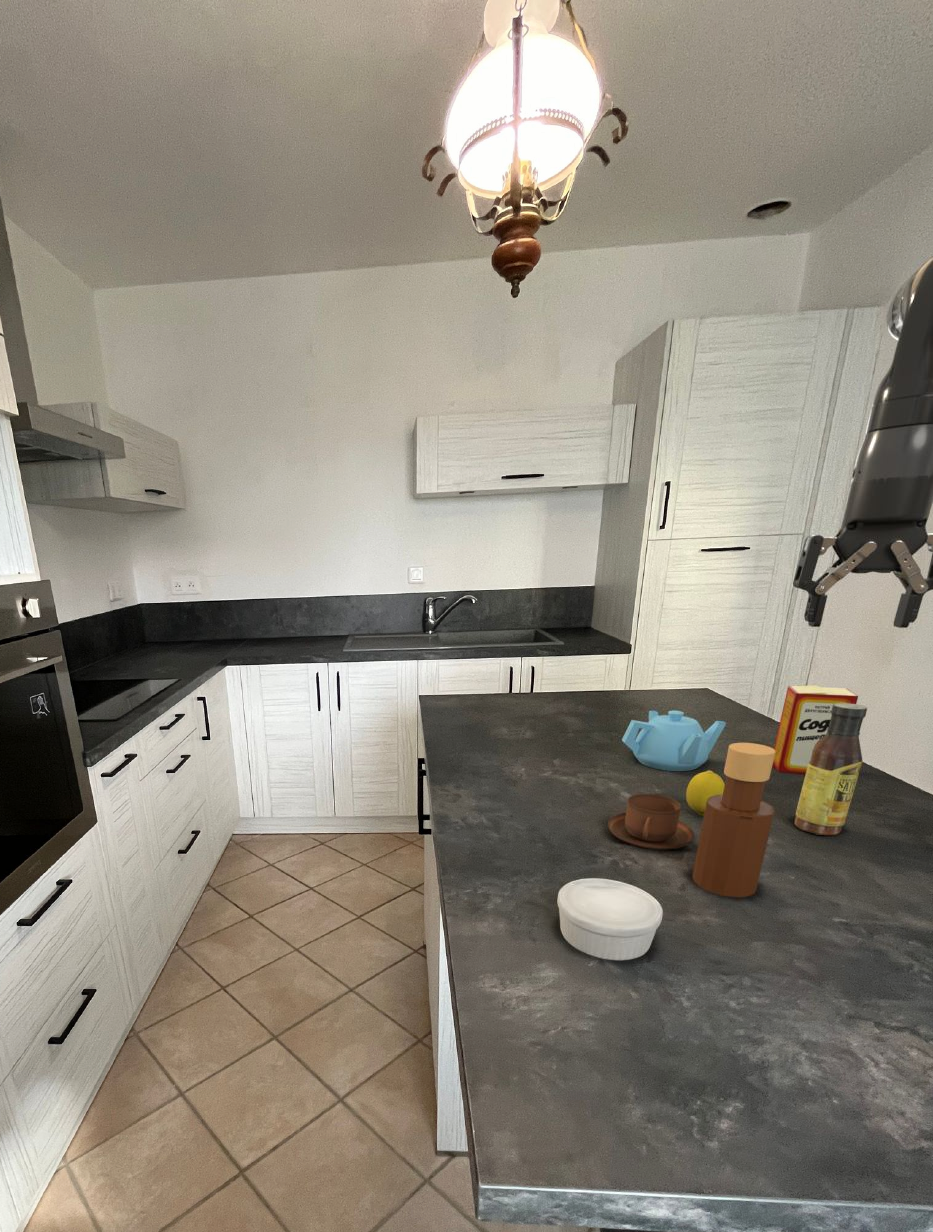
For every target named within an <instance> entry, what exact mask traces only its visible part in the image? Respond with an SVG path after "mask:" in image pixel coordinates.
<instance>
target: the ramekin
mask: <svg viewBox="0 0 933 1232" xmlns="http://www.w3.org/2000/svg"><path fill="white" fill-rule="evenodd" d="M556 900H557V907H558V911H559V926H560V932H561V934H562V936H563V938H564V939H565V941H566V942H567V943H568V944H569V945H571V946H572V947H574V948H575V949H576V950H578V951H580V952H582V953H584V954H587V955H590V956H592V957H596V958H598V959H603V960H610V961H629V960H634V959H637V958H639V957H642V956H643V955H645V954H646V953H647V952H648V951H649V949H650V947H651V945H652V942H653V940H654V937H655V936H656V935H655V934H656V933H657V929H658V928H659V927H660V925H661V924H662V920H663V916H664V915H663V914H664V913H663V911H664V910H663V907H662V905H661V904H660V902H659V900H657V899H656V898H655V897H653V896H652V894H650V893H649V892H646V891H645V890H643V889H641V888H639V887H637V886H636V885H635V886H634V885H632V884H629V883H626V882H623V881H619V880H614V879H607V878H597V877H596V878H594V877H593V878H590V877H589V878H581V879H576V880H573V881H570V882H568V883H565V884H564V885H563V886H562V887H561V888H560V889H559V890H558V894H557V899H556Z"/></svg>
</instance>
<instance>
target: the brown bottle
mask: <svg viewBox="0 0 933 1232" xmlns="http://www.w3.org/2000/svg"><path fill="white" fill-rule="evenodd" d="M724 784H725V786H724V791H723V795H715V796H711V797H709V799H708V800H707V803H706V808H705V813H704V815H703V818H702V824H701V829H700V835H699V840H698V845H697V850H696V855H695V860H694V865H693V871H692V880H693V882H694V884H696V885H697V886H698V887H700V888H701V889H704V890H705V891H708V892H709V893H712V894H715V895H718V896H723V897H730V898H731V897H732V898H746V897H750V896H752V895H755V893H756V892H757V889H758V885H759V879H760V874H761V871H762V867H763V862H764V858H765V854H766V850H767V846H768V841H769V837H770V834H771V829H772V824H773V820H774V817H775V812H776V810H775V808H774V807H773V805H771V804H770V803H767V802H766V801H764V800H762V798H763V795H764V790H765V787H766V781H764V782H747V781H741V780H737V779H733V778H730V777H728V776H726V775H725V782H724Z"/></svg>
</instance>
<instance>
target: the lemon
mask: <svg viewBox="0 0 933 1232" xmlns="http://www.w3.org/2000/svg"><path fill="white" fill-rule="evenodd" d="M724 786H725V782H724V780H723V779H722V777H721V776H720V775H718V774H717V773H715V772H713V771H712V770H707V771H703V772H700V773H699V772H698V773H697V774H695V775H694V776H693V777H692V778H691V780H690V781H689V783H688V785H687V788H686V791H685V792H686V793H685V797H686V803H687V805H688V806H689V808H690V809H692V810H693V811H694V812H696V813H697V814H698V815H699V816H703V817H704V813H705V808H706V803H707V800H708V799H709V797H711V796H715V795H723V791H724Z"/></svg>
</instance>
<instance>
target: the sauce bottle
mask: <svg viewBox="0 0 933 1232" xmlns="http://www.w3.org/2000/svg"><path fill="white" fill-rule="evenodd" d="M867 711H868V707H867V706H865V705H862V704H858V703H856V704H849V703H836V704H834V705H833V706H832V711H831V714H832V716H831V720H830V724H829V727H828V729H827V734H826V735H825V736H824V737H823V738H822V739H820V740H819V741H818V742H817V743H816V744H815V746H814V748H813V751H812V756H811V760H810V761H809V764H808V767H807V771H806V774H804V775H805V776H804V779H803V783H802V787H801V791H800V795H799V799H798V803H797V807H796V811H795V818H794V825H795V826H796V828H798V829H799V830H801V831H803V832H806V833H809V834H813V835H817V836H837V835H839V834H840V833H841V832H842V828H843V826H844V825H845V824H846V820H847V816H848V812H849V809H850V806H851V801H852V799H853V796H854V793H855V789H856V785H857V782H858V778H859V774H860V771H861V767H862V764H863V754H862V748H861V742H860V735H861V733H860V731H861V728H862V724H863V722H864V718H865V717H866V716H867Z"/></svg>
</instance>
